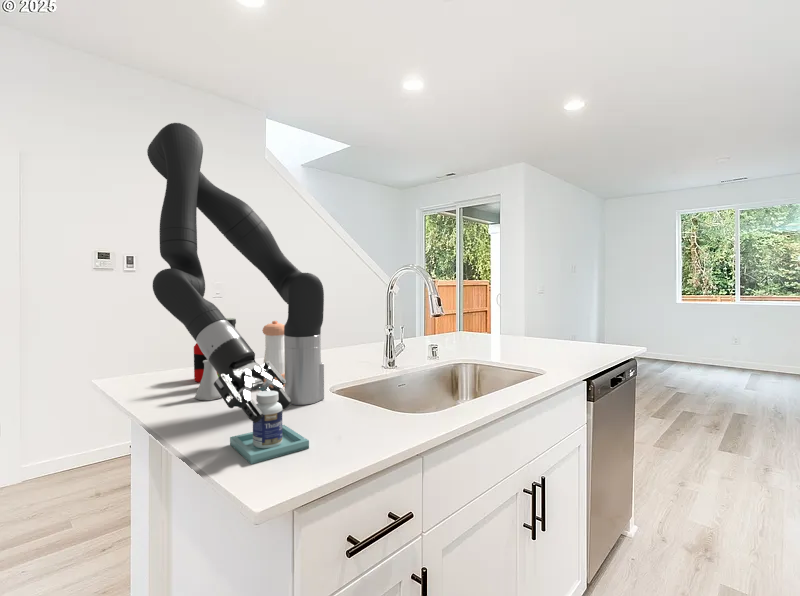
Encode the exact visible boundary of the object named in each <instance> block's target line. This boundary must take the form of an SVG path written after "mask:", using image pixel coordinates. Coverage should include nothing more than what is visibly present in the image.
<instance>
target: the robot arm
mask: <svg viewBox="0 0 800 596" xmlns="http://www.w3.org/2000/svg"><path fill="white" fill-rule="evenodd" d="M203 146H204V145H203V142H202V140H201V138H200V136H199V134H198V133H197V132H196V131H195V130H194V129H193V128H192V127H190V126H188V125H186V124H185V123H180V122H172V123H168V124H167V125H165V126H164V127H162V128H161V129H160V130H159V132H157V134H156V135H155V136H154V138H153V139H152V140H151V141H150V144H149V145H148V147H147V149H146V152H147V157H148V160H149V162H150V164H151V165H152V167H153V168H154V169H155V170H156V171H157V172H158V173H159V174H160V175H161V176H162V177H163V178H164V179H165V180H166V185H165V187H166V188H165V193H164V198H163V202H162V206H161V211H160V217H159V218H160V219H159V253H160V257H161V258H162V259H163V261H165V262H166V263H167V264H168V266H169V268H165V269H162V270H160V271H159V272H157V273H156V275H155V276H154V278H153V279H152V291H153V293H154V296H155V298H156V299H157V301H158V302H159V303H160V304H161V305H162V307H164V309H166V310H167V311H168V312H169V313H170V314H171V315H172V316H173V317H174V318H175V319H176V320H178V321H179V322H180V323H181V324H183V325H184V327H185V328H186V330H187V332H188V333H189V334H190V336H191V337H192V338H193V340H194V341H195V342H196V343H197V344H198V346H199V348H200V349H201V351H202V353H203V354H204V355H205V357H206V358H207V359H208V361H209V362H210V363H211V365H212V366H213V367H214V369H215V370H216V371H217V373H218V374H219V375H220V376H219V377H218V379H217V380H216V381H215V382H214V386H215V387H216V389H217V390H218V392H219V393H220V395H221V396H222V397H221V398H222V399H223V401H224V403H225V404H226V405H227V407H228V408H230V409H233V408H236V407H237V408H238V409H241V410H243V412H244V413H245V415H246V417H247V418H249V420H250V421H252V423H253V422H254V423H257V422H259V421H260V420H261V418H262V417H263V413H262V412H261V410H260V409H259V408H258V406H257V405H256V404H257V403H256V402H255V401H254V400H253V399H251V392H252V391H257V390H259V391H260V392H262V391H277V392H278V401H277V402H279V403H280V404H281V405H282V410H287V409H288V408H289V407H290V406H291V405H295V406H296V405H297V406H300V405H301V406H305V405H311V404H315V403H318V402H320V401H323V400H325V364H324V363H323V362H322V361H321V360H322V358H321V357H322V356H321V355H322V353H321V349H322V348H321V347H322V346H321V344H322V343H321V342H322V341H321V336H322V335H321V334H322V333H321V332H322V331H321V330H322V325H323V323H324V307H325V302H324V301H325V290H324V286H323V283H322V281H321V279H320V278H319V277H318V276H317V275H315V274H313V273H311V272H302V271H301V270H300V269H298V268H297V267H296V266H295V265H294V264H293V263H292V262H291V261H290V260H289V259H288V258H287V257H286V256H285V254H284V252H282V251H281V249H280V247H279V245H278V243H277V241H276V239H275V237H274V235H273V233H272V232H271V230H270V229H269V227H268V225H267V224H266V223H265V222H264V221H263V220H262V218H261V217H260V216H259V215H258V214H257V213H256V212H255V211H254V208H253V209H252V207H251V206H250V205H249V204H248V203H247V202H245V201H243V200H242V199H241V198H238V197H236V196H235V195H233V194H232V193H231V194H230V193H229V192H226V191H225V190H222V189H221V188H219V187H217V186H216V185H215V184H214V183H212V181H210V179H208V178H207V177H206V176H205V175H204V174H203V172H202V171H201V167H202V166H201V165H202V161H203V153H204V147H203ZM197 209H198V210H199V211H200V212H201V213H202V215H204V216H205V217H206V218H207V219H208V220H209V221H210V223H212V224H213V225H214V226H215V227H216V229H217V230H218V231H219V232H220V233H221V234H222V235H223V236H224V238H226V240H227V241H228V242H229V243H230V244H231V245H232V246H233V247H234V248H235V249H236V250H237V251H238V252H240V254H241V255H242V256H244V258H245V259H247V261H249V263H251V264H252V265H253V266H254V267H255V268H256V269H258V270H259V272H260V273H261V274H262V275H264V277H265V278H266V279H267V281H268V282H269V283H270V284H271V285H272V287H273V288H274V290H275V291H276V292H277V293H278V295H279V296H280V297H281V299H282V300H283V301H284V302H285V303H286V305H288V306H287V319H286V322H285V323H284V325H285V326H284V358H285V379H284V378H283V377H282V376H281V374H280V373H279V372H278V371H277V370H276V369H275V367H274V366H273V365H272V364H271V363H270V362H269V361H266V363H265V364H264V363H263V364H262V365H260V364H259V363H257V361H256V353H255V351H254V350H253V349H252V348H251V347H250V345H249V343H248V342H247V341H246V340H245V338H244V337H243V336H242V335H241V334H240V332H239V331H238V330H237V329H236V327H235V328H234V327H233V326H232V325H231V324H230V323H229V322H228V321H227V319H226V318H227V317H226V316H224V314H223V313H222V312H221V310H220V309H219V308H218V306H216V305H215V304H214V303H213V302H211V301H209V300H207V299H205V297H204V296H205V293H206V281H205V276H204V272H203V267H202V264H201V261H200V258H199V255H198V234H197V233H198V229H197V228H198V227H197V226H198V225H197V224H198V223H197V211H198V210H197ZM275 377H276V378H277V379H278V382H277V381H276V380H274V378H275ZM264 379H266V381H265V383H264ZM263 383H264V384H263ZM284 384H285V386H283V385H284ZM269 385H272V386H273V388H272V387H270V386H269ZM282 386H283V387H284V388H283V387H282Z"/></svg>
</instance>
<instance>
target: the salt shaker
mask: <svg viewBox="0 0 800 596" xmlns="http://www.w3.org/2000/svg"><path fill="white" fill-rule="evenodd" d="M284 326H285V324H283V323H279V322H278V321H277V320H272V322H271V323H267V324H265V325H264V326H263V327H262V333H263V335H265V338H264V339H265V345H264V346H265V350H264V356H263V365H264V364H265V363H266V361H269V362H270V363H271V364H272V365H273V366H274V367H275V369H276V370H277V371H278V372H279V373H280V374H281V376H282V377H283V378H284V379H285V358H284ZM274 380H276V381H277V382H278V379H277V378H276V377H275V378H274ZM265 381H266V379H264V383H265ZM264 383H263V384H264ZM269 386H270V387H272V388H273V386H272V385H269ZM283 387H285V384H284V385H283V386H282V388H283Z"/></svg>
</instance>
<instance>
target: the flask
mask: <svg viewBox="0 0 800 596" xmlns="http://www.w3.org/2000/svg"><path fill="white" fill-rule="evenodd" d="M203 363H204V372H203V377H202V379H201V382H199V384H198V388H197V391H196V393H195V396H194V399H196V400H199V401H211V400H218V399H221V398H222V396H221V395H220V393H219V392H218V390H217V389H216V387H215V386H214V382H215V381H216V380H217V379H218V375H217V371H216V370H215V369H214V367H213V366H212V365H211V363H210V362H209V361H208V360H204V361H203Z"/></svg>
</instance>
